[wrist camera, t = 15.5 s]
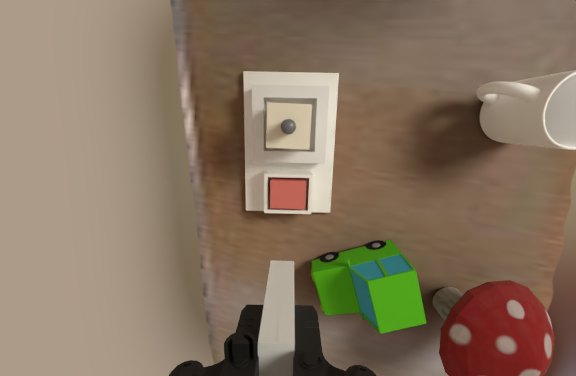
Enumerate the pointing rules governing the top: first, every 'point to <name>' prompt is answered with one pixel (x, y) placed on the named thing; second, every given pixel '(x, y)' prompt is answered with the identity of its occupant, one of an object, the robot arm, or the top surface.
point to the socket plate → (290, 161)
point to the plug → (288, 125)
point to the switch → (288, 193)
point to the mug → (531, 111)
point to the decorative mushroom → (494, 331)
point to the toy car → (370, 286)
